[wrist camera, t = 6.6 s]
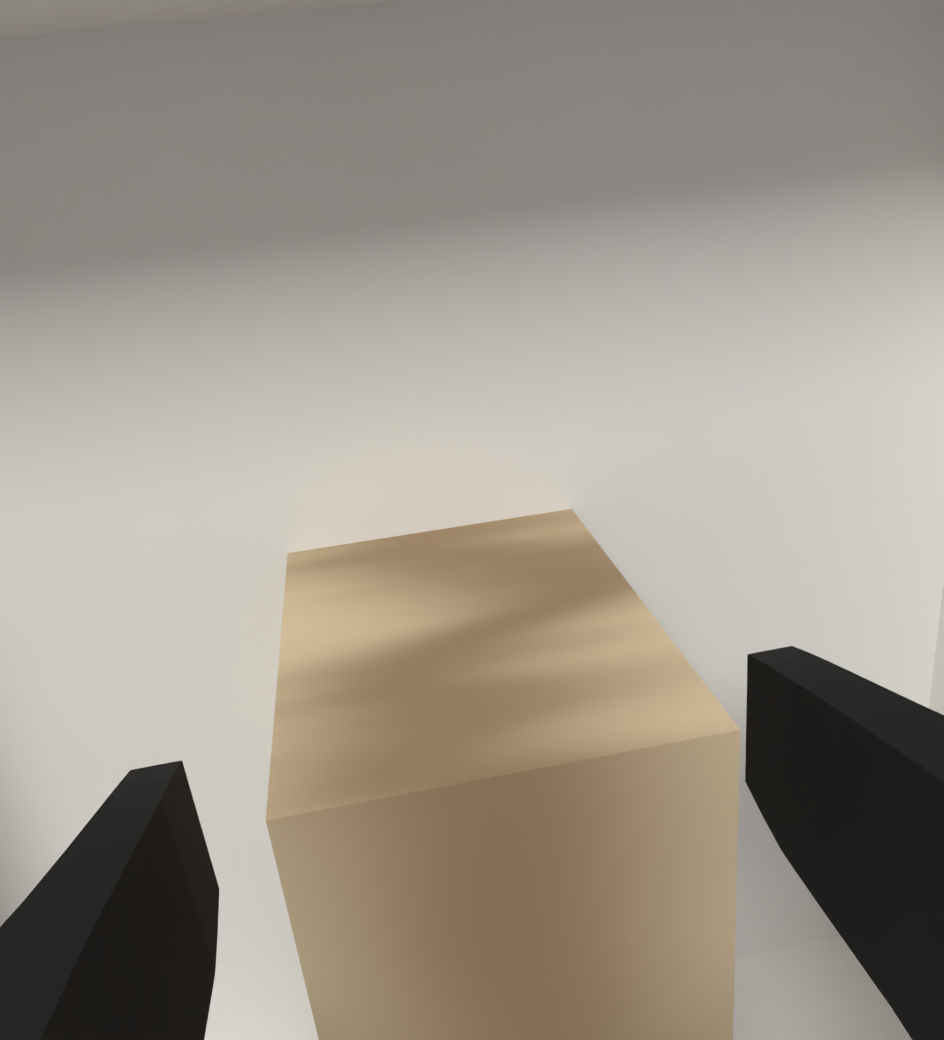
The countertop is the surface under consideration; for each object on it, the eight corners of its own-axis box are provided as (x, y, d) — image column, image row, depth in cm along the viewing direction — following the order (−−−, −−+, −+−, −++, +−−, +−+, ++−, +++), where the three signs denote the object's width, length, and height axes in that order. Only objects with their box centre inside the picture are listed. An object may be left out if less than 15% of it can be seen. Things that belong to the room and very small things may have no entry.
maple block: (571, 508, 14) (740, 729, 8) (585, 740, 15) (732, 1050, 10) (287, 553, 13) (265, 819, 8) (334, 788, 15) (344, 1143, 9)
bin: (1060, -137, 12) (1447, -301, 8) (924, 923, 20) (1085, 1120, 16) (-533, -4, 10) (-1151, -134, 6) (13, 1133, 17) (-81, 1427, 13)
